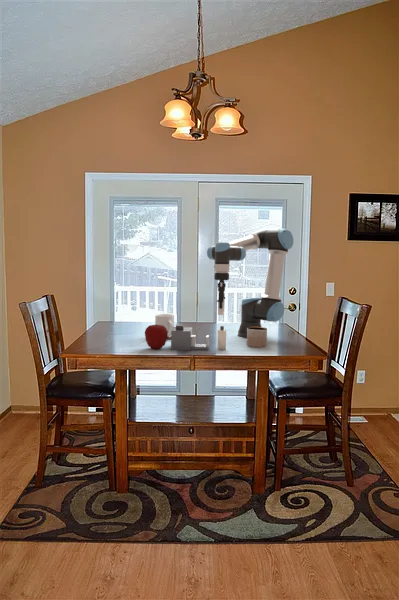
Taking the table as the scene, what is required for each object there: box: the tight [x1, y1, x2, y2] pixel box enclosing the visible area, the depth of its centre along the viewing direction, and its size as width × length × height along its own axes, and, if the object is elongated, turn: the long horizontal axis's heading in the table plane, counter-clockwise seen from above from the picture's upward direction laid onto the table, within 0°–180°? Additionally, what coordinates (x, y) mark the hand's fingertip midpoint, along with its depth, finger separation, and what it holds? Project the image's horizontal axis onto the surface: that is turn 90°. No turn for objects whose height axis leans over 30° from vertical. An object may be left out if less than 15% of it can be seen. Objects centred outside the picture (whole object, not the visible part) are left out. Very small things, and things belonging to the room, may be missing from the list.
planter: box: [246, 326, 268, 348], centre depth 260 cm, size 11×11×10 cm
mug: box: [154, 313, 175, 336], centre depth 278 cm, size 15×11×13 cm
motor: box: [166, 324, 210, 351], centre depth 251 cm, size 22×12×12 cm, turn 87°
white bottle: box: [217, 325, 227, 351], centre depth 250 cm, size 4×4×12 cm
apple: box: [144, 324, 168, 350], centre depth 248 cm, size 12×12×13 cm
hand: (221, 313), depth 249 cm, fingers open, 13 cm apart
